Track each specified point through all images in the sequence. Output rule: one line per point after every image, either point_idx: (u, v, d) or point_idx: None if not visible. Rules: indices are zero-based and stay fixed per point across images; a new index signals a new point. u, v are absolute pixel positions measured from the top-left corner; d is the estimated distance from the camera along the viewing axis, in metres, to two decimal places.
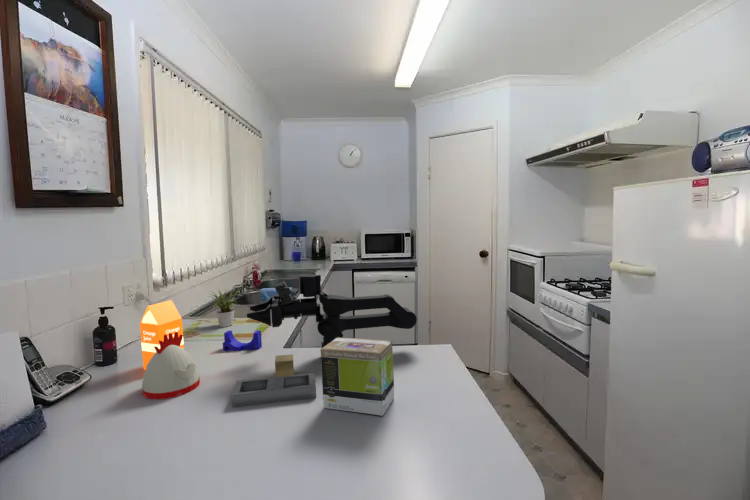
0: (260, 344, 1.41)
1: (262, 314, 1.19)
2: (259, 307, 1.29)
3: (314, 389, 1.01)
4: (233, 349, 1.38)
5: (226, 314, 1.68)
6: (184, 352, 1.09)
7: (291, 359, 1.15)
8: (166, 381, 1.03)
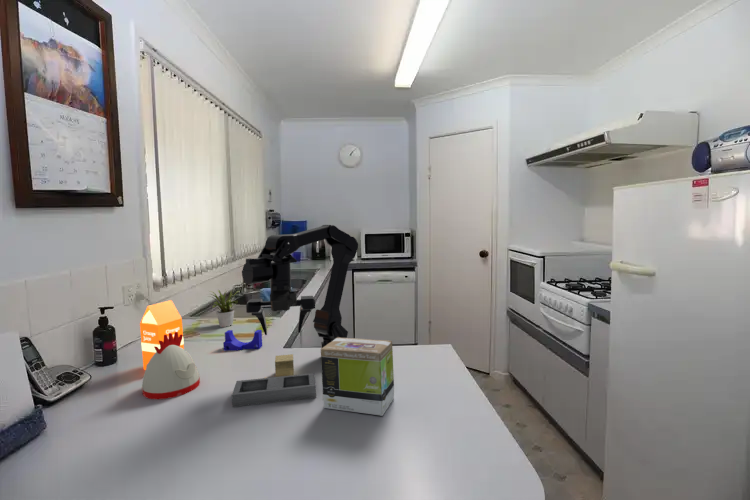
0: (260, 343, 1.41)
1: None
2: (265, 324, 1.14)
3: (314, 389, 1.01)
4: (234, 348, 1.39)
5: (226, 314, 1.68)
6: (184, 352, 1.09)
7: (291, 359, 1.15)
8: (166, 381, 1.03)
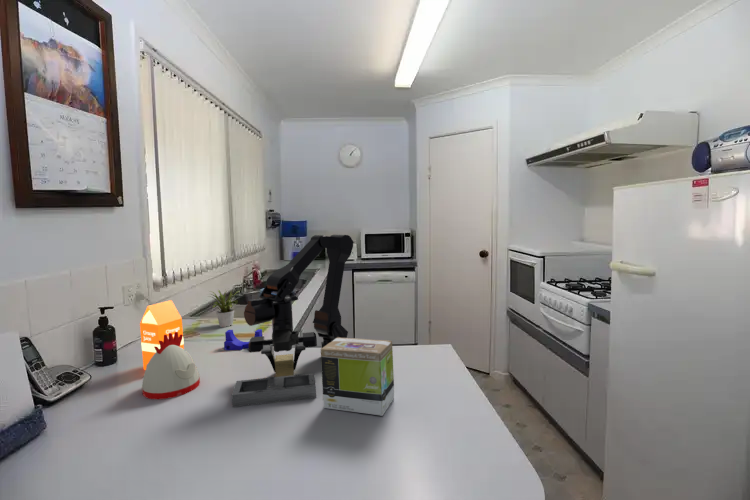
0: None
1: None
2: (274, 362, 1.15)
3: (314, 389, 1.01)
4: (235, 348, 1.39)
5: (226, 314, 1.68)
6: (184, 352, 1.09)
7: (291, 358, 1.15)
8: (166, 381, 1.03)
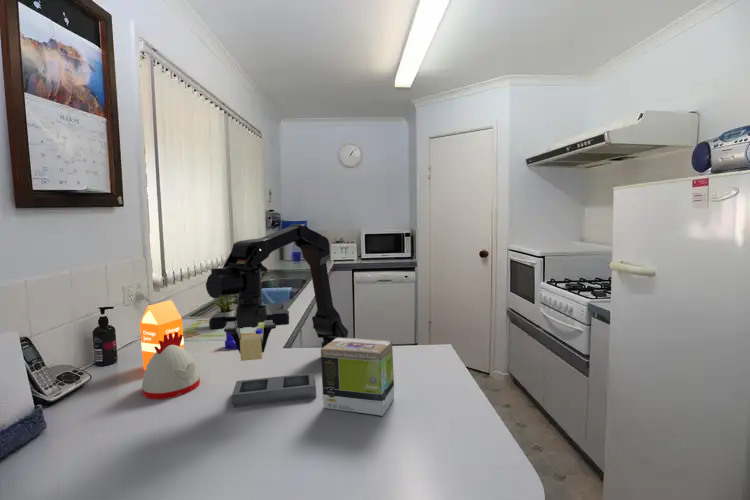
0: None
1: None
2: None
3: (314, 389, 1.01)
4: (235, 347, 1.40)
5: None
6: (184, 352, 1.09)
7: (259, 338, 1.00)
8: (166, 381, 1.03)
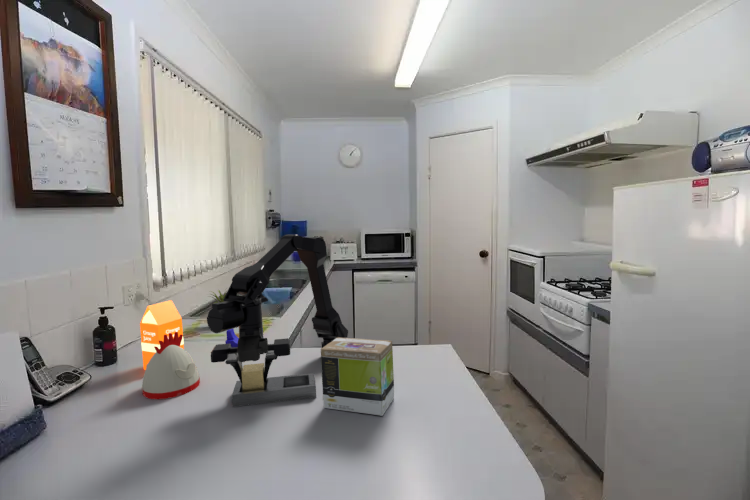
0: None
1: None
2: None
3: (314, 389, 1.01)
4: (236, 346, 1.41)
5: None
6: (184, 352, 1.09)
7: (261, 368, 1.01)
8: (166, 381, 1.03)
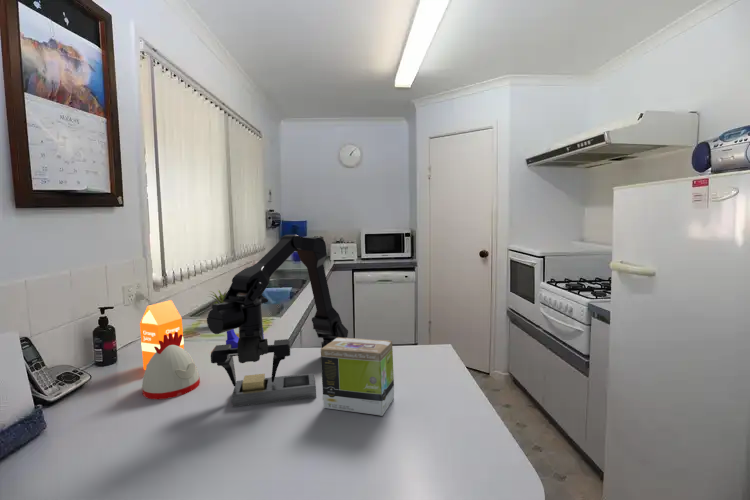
0: None
1: None
2: (234, 374, 1.01)
3: (314, 389, 1.01)
4: (237, 346, 1.41)
5: None
6: (184, 352, 1.09)
7: (261, 379, 1.01)
8: (166, 381, 1.03)
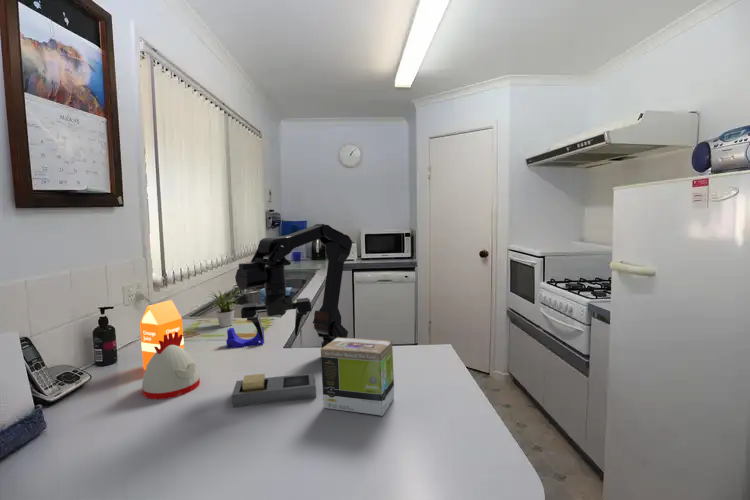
0: (263, 340, 1.45)
1: None
2: (261, 329, 1.12)
3: (314, 389, 1.01)
4: (237, 345, 1.42)
5: (226, 314, 1.68)
6: (184, 352, 1.09)
7: (261, 379, 1.01)
8: (166, 381, 1.03)
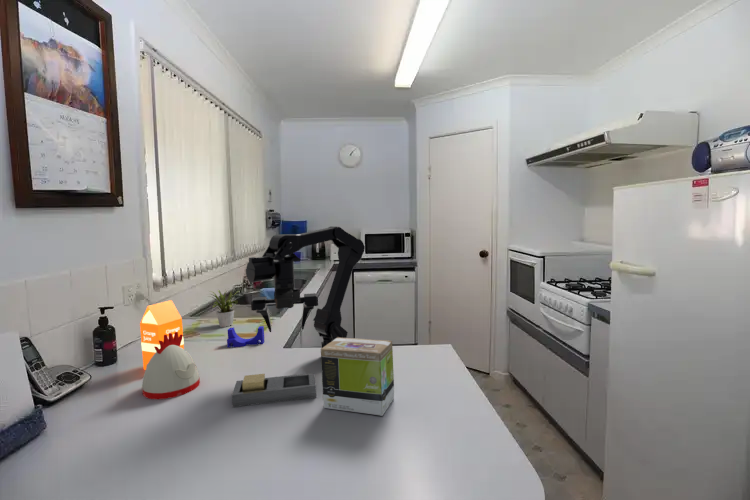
0: (263, 339, 1.46)
1: None
2: (270, 322, 1.17)
3: (314, 389, 1.01)
4: (238, 345, 1.43)
5: (226, 314, 1.68)
6: (184, 352, 1.09)
7: (261, 379, 1.01)
8: (166, 381, 1.03)
